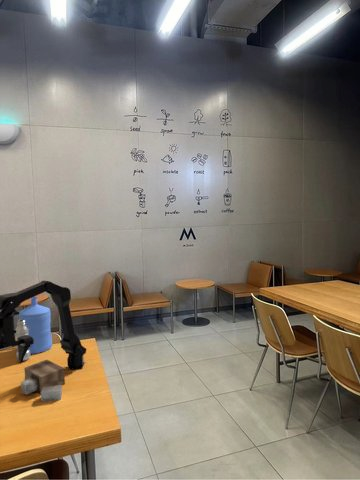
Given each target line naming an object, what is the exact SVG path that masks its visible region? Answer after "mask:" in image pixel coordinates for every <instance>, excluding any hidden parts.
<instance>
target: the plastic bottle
mask: <svg viewBox="0 0 360 480" xmlns="http://www.w3.org/2000/svg"><path fill="white" fill-rule="evenodd" d="M25 324H26V322H25V320H24V319H22V320H19V319H18V320H17V323H16V325H17V326H16V328H15V330H16V333H15V340H16V341H17V339H18V337H20V336H24V335H28V336H29V329H28V327H27V326H26V325H25ZM15 355H16V356H15V357H16V360H17V361H18V362H19V350H18V346H16V353H15ZM31 355H32V354H31V353H30V349H29V348H28V350H27V352H26V354H25V356H24V358H23V361H27V360H29V359H30V358H31ZM23 361H22V362H23Z"/></svg>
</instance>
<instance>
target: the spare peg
mask: <svg viewBox="0 0 360 480" xmlns="http://www.w3.org/2000/svg"><path fill="white" fill-rule="evenodd" d="M62 388H63V385H56V386H49V387H43V388H42V391H41V393H40V396H41V397H40V399H41V401H40V402H41V403H47V402H53V401H60V400H62V396H63V389H62Z"/></svg>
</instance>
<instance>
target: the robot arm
mask: <svg viewBox="0 0 360 480" xmlns="http://www.w3.org/2000/svg"><path fill="white" fill-rule="evenodd" d="M44 293H46V294H49V295H50V296H51V299H52V302H53V303H54V304H55V305H56V307H57V310H58V314H59V315H58V316H59V320H60V323H61V329H62V334H63V337H62V339H60V340H59V343H60V345H61V347H60V348H61V349H62V350H63V351H64V352H65V354H67V355H68V356H67V360H66V362H67V370H68V371H69V370H81V369H83V367H84V366H85V363H86V362H85V360H84V358H85V357H84V355H86V353H87V348H86V347H85V346H84V345H82V342H81V339H80V337H79V336H78V335H77V334H76V332H75V328H74V327H75V326H74V322H73V318H72V313H71V308H70V302H71V299H72V298H71V289H70V288H69V287H66V286H60V285H58V284H56V283H54V282H52V281H50V280H41V281H40V282H38V283H36V284H33V285H31V286H28V287H26V288H23V289H21V290H18V291H16V292H11V293H5V294H0V351H4V350H7V349H10V348H13V347H17V346H18V350H19V361H18V364H20V365H21V364H22V363H23V358H24V356H25V354H26V352H27V350H28V348H29V347H31V345H32V344H34V339H33V337H31V336H28V335H24V336H20V337H18V339H17V341H16V336H15V333H16V328H15V327H16V325H15V316H17V315H18V316H19V314H20V313H19V312H20V311H18V310H17V308H19V307H20V305H21V304H22V303H24V302H26V301H28V300H31V298H32V297H37V296H39V295H41V294H44Z"/></svg>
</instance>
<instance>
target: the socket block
mask: <svg viewBox="0 0 360 480" xmlns="http://www.w3.org/2000/svg"><path fill="white" fill-rule="evenodd" d="M23 370H24V381H25V380H27V379H29V378H32V377H35V378H37V379H38V386H39V389H38V390H36V391H35V392H37V393H39V394H41V391H42V388H43V387H49V386H56V385H62V386H64V385H65V384H66V379H65V367H63V366H61V365H60V364H57V363H55V362H52V361H51V360H48V359H44V360H42V361H39V362H37V363H34V364H31V365H28V366H26V367H24V368H23Z"/></svg>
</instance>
